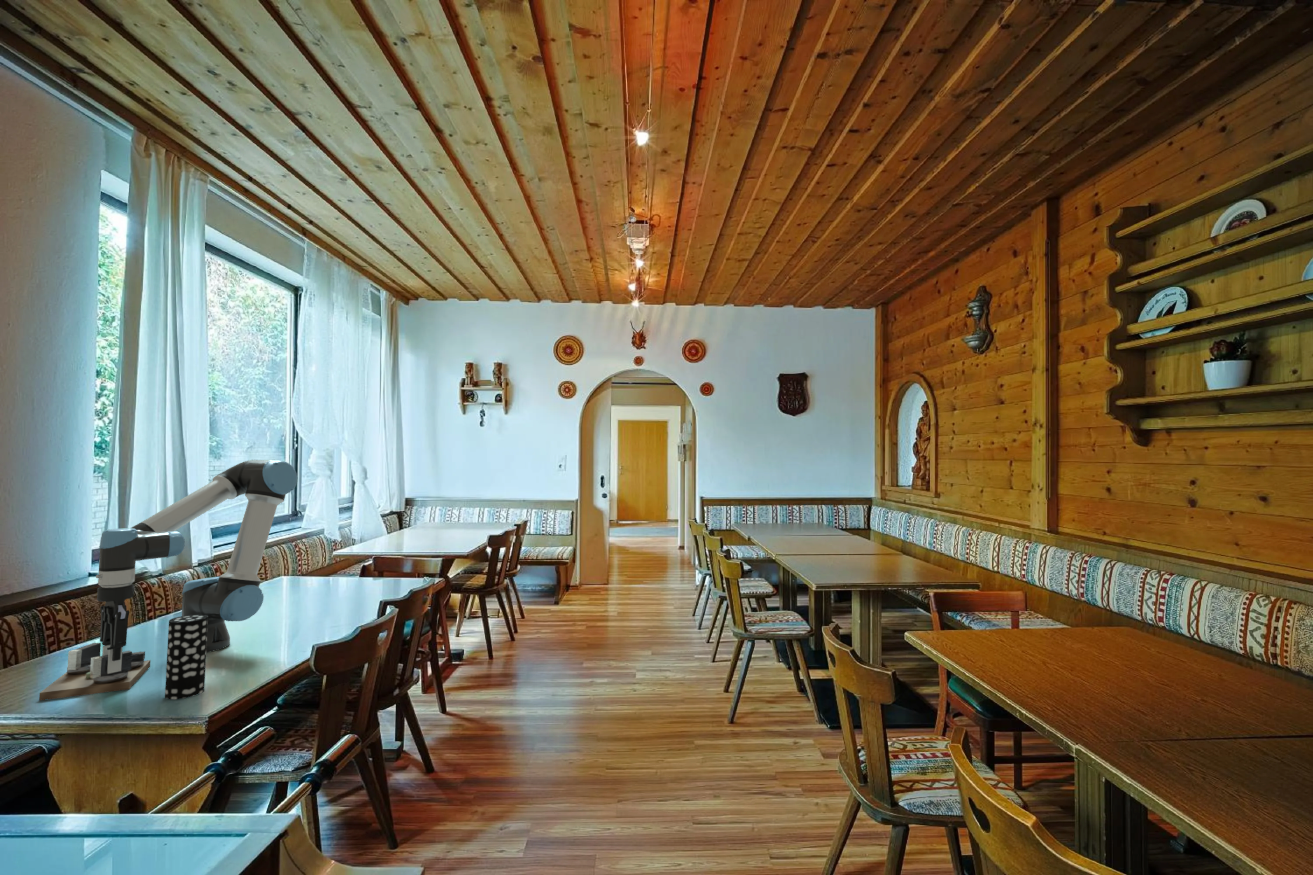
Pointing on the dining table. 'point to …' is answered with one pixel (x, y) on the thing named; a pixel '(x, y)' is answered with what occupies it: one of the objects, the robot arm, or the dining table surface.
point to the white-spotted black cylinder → (186, 656)
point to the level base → (89, 684)
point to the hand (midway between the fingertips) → (111, 670)
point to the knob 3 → (137, 659)
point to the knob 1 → (82, 658)
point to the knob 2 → (101, 666)
